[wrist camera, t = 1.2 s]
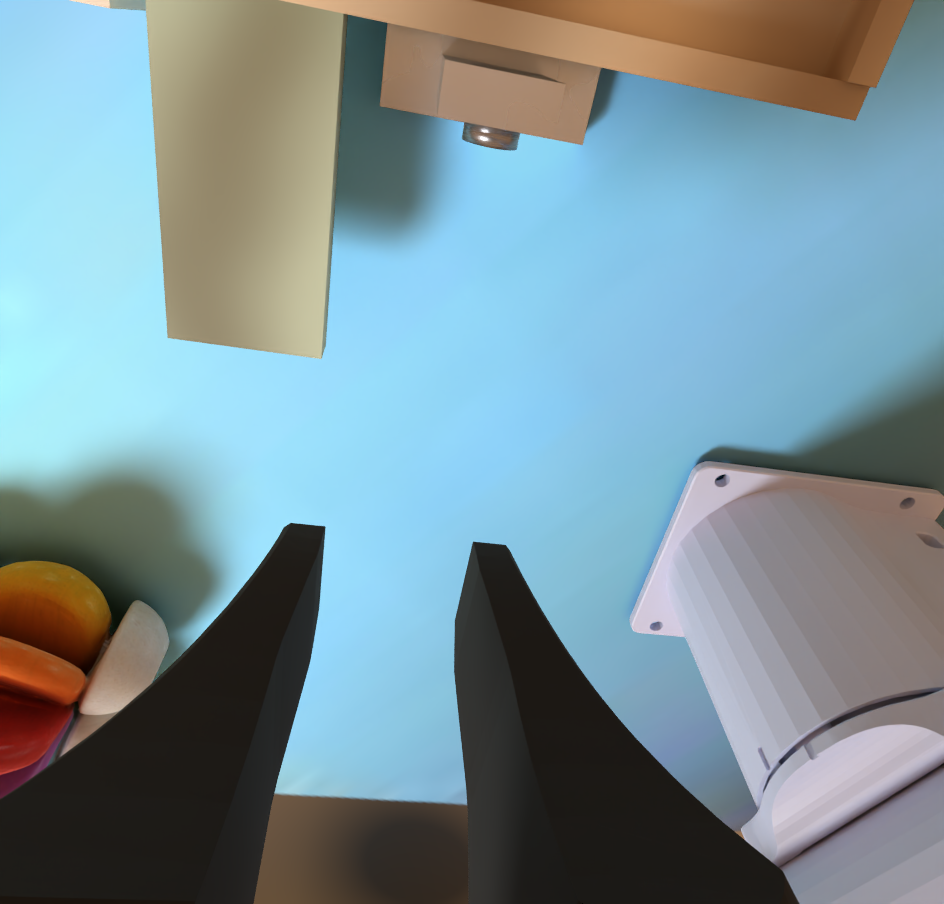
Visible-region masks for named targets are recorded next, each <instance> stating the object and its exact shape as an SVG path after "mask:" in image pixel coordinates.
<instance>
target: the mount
mask: <svg viewBox="0 0 944 904" xmlns="http://www.w3.org/2000/svg"><path fill="white" fill-rule="evenodd" d="M600 70H601V67H597V66H592V65H587V64H582V63H578V62H573V61H568V60H563V59H558V58H554V57H549V56H544V55H539V54H534V53H530V52H525V51H520V50H515V49H511V48H506V47H501V46H496V45H491V44H487V43H482V42H477V41H472V40H467V39H463V38H458V37H453V36H448V35H444V34H439V33H434V32H429V31H424V30H420V29H415V28H410V27H405V26H400V25H396V24H391V23H388V24H387V34H386V45H385V56H384V66H383V77H382V88H381V98H380V106H381V107H387V108H392V109H397V110H402V111H408V112H413V113H418V114H423V115H428V116H434V117H439V118H444V119H449V120H455V121H460V122H464V128H463V135H462V139H463V140H465V141H467V142H470V143H473V144H477V145H480V146H485V147H490V148H495V149H502V150H517V145H518V140H519V135H520V133H523V134H528V135H533V136H538V137H543V138H549V139H554V140H559V141H564V142H570V143H575V144H580V145H582V144H583V140H584V136H585V132H586V128H587V124H588V120H589V116H590V112H591V107H592V103H593V99H594V95H595V91H596V87H597V83H598V79H599V74H600Z"/></svg>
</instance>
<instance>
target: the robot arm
mask: <svg viewBox="0 0 944 904" xmlns="http://www.w3.org/2000/svg"><path fill="white" fill-rule="evenodd" d="M724 474H726V475H725V476H724V478H723V479H721V480H717V481H715V479H716V478H717V477H718V476H720V475H724ZM906 498H907V499H906ZM904 499H906V500H905V501H903V500H904ZM943 508H944V496H943V495H942V494H941V493H940V492H939V491H937V490H934V489H927V488H919V487H911V486H903V485H895V484H887V483H879V482H871V481H863V480H855V479H847V478H840V477H832V476H824V475H816V474H808V473H800V472H792V471H784V470H776V469H768V468H760V467H752V466H744V465H736V464H729V463H721V462H713V461H705V462H702V463H699V464H698V465H696V466H695V467H694V468H693V470H692V471H691V474H690V476H689V478H688V481H687V483H686V485H685V488H684V490H683V493H682V495H681V497H680V500H679V502H678V504H677V507H676V509H675V512H674V514H673V516H672V519H671V521H670V523H669V526H668V528H667V531H666V533H665V535H664V538H663V540H662V542H661V545H660V547H659V550H658V552H657V554H656V557H655V559H654V561H653V564H652V566H651V569H650V571H649V573H648V576H647V578H646V580H645V583H644V585H643V588H642V590H641V592H640V595H639V597H638V599H637V602H636V604H635V607H634V609H633V611H632V614H631V616H630V620H629V621H630V624H631V627H632V629H633V630H634V631H635V632H638V633H646V634H657V635H669V636H680V637H686V640H687V642H688V644H689V647H690V649H691V652H692V654H693V656H694V659H695V661H696V663H697V666H698V668H699V671H700V673H701V675H702V678H703V680H704V682H705V685H706V687H707V690H708V692H709V694H710V697H711V699H712V701H713V704H714V706H715V709H716V711H717V713H718V716H719V718H720V720H721V723H722V725H723V728H724V730H725V732H726V735H727V737H728V739H729V742H730V744H731V747H732V749H733V751H734V754H735V756H736V758H737V761H738V763H739V766H740V768H741V770H742V773H743V775H744V777H745V780H746V782H747V785H748V787H749V789H750V792H751V794H752V796H753V799H754V801H755V804H756V806H757V808H758V812H757V814H756V815H755V816H754V817H753V818H752V819H751V820H750V821H749V822H747V823H746V824H745V825H744V826H743V827H742V828H741V831H742V834H743V836H744V839H745V840H744V839H743V838H742V837H740V836H739V835H738V834H737V833H735V832H734V831H733V830H732V829H730V828H729V827H728V826H727V825H725V824H724V823H723V822H722V821H721V820H720V819H718V818H717V817H716V816H715V815H714V814H713V813H712V812H711V811H710V810H708V809H707V808H706V807H705V806H704V805H703V804H702V803H701V802H700V801H699V800H697V799H696V798H695V797H694V796H693V795H692V794H691V793H690V792H689V791H688V790H686V789H685V788H684V787H683V786H682V785H681V784H680V783H679V782H678V781H677V780H676V779H675V778H674V777H673V776H672V775H671V774H670V773H669V772H668V771H667V770H666V769H665V768H664V767H663V766H662V765H661V764H660V763H659V762H658V761H657V760H656V759H655V758H654V757H653V756H652V755H651V753H650V752H649V751H648V750H647V749H646V748H645V747H644V746H643V745H642V744H641V743H640V742H639V741H638V740H637V739H636V738H635V737H634V736H633V735H632V733H631V732H630V731H629V730H628V729H627V728H626V727H625V725H624V724H623V723H622V722H621V721H620V720H619V719H618V717H617V716H616V715H615V714H614V712H613V711H612V710H611V709H610V708H609V706H608V705H607V704H606V703H605V701H604V700H603V699H602V698H601V696H600V695H599V694H598V693H597V691H596V690H595V689H594V687H593V686H592V685H591V683H590V682H589V681H588V679H587V678H586V677H585V675H584V674H583V672H582V671H581V670H580V668H579V667H578V665H577V664H576V663H575V661H574V660H573V658H572V657H571V655H570V654H569V652H568V651H567V649H566V648H565V646H564V645H563V643H562V642H561V640H560V639H559V637H558V636H557V634H556V632H555V631H554V629H553V628H552V626H551V624H550V623H549V621H548V620H547V618H546V616H545V615H544V613H543V611H542V610H541V608H540V606H539V605H538V603H537V601H536V599H535V598H534V596H533V594H532V592H531V590H530V589H529V587H528V585H527V583H526V581H525V579H524V578H523V576H522V574H521V572H520V570H519V568H518V566H517V564H516V562H515V560H514V558H513V556H512V554H511V552H510V550H509V549H508V548H507V546H506V545H500V544H490V543H480V542H473V544H472V549H471V553H470V557H469V562H468V566H467V570H466V575H465V579H464V584H463V588H462V592H461V597H460V601H459V605H458V610H457V614H456V618H455V649H454V673H455V684H456V694H457V703H458V713H459V723H460V732H461V742H462V751H463V761H464V770H465V780H466V790H467V806H468V848H469V849H468V851H469V853H468V854H469V904H944V529H943V528H942V527H941V526H940V525H939V524H938V523H937V522H936V521H935V520H936V519H937V517H938V516H939V514H940V513H941V511H942V510H943ZM324 538H325V526H315V525H305V524H295V523H290V524H289V525H287V526H285V527H284V528H283V530H282V532H281V534H280V535H279V537H278V539H277V540H276V542H275V544H274V545H273V547H272V548H271V550H270V551H269V553H268V554H267V555H266V557H265V558H264V560H263V561H262V562H261V564H260V565H259V567H258V568H257V569H256V571H255V572H254V573H253V575H252V576H251V577H250V578H249V580H248V581H247V582H246V583H245V585H244V586H243V587H242V588H241V590H240V591H239V592H238V593H237V595H236V596H235V597H234V598H233V600H232V601H231V602H230V603H229V605H228V606H227V607H226V608H225V609H224V610H223V611H222V613H221V614H220V615H219V616H218V617H217V618H216V619H215V620H214V621H213V622H212V624H211V625H210V626H209V627H208V628H207V629H206V630H205V631H204V632H203V633H202V634H201V636H200V637H199V638H198V639H197V640H196V641H195V642H194V643H193V644H192V645H191V646H190V647H189V648H188V649H187V650H186V651H185V652H184V653H183V654H182V655H181V656H180V657H179V658H178V659H177V660H176V661H175V662H174V663H173V664H172V665H171V666H170V667H169V668H168V669H167V670H166V671H165V672H163V673H162V674H161V675H160V676H159V677H158V678H157V679H156V680H155V681H154V682H153V683H152V684H151V685H149V686H148V687H147V688H146V689H145V690H144V691H143V692H141V693H140V694H139V695H138V696H137V697H135V698H134V699H133V700H132V701H131V702H130V703H128V704H127V705H126V706H125V707H124V708H123V709H121V710H120V711H119V712H118V713H117V714H116V715H114V716H113V717H112V718H111V719H109V720H108V721H107V722H106V723H104V724H103V725H102V726H101V727H100V728H98V729H97V730H96V731H94V732H93V733H92V734H91V735H89V736H88V737H87V738H85V739H84V740H82V741H81V742H80V743H78V744H77V745H76V746H74V747H73V748H72V749H70V750H69V751H68V752H66V753H65V754H63V755H62V756H61V757H59V758H58V759H57V760H55V761H54V762H53V763H51V764H50V765H48V766H47V767H46V768H44V769H43V770H42V771H40V772H39V773H38V774H36V775H35V776H33V777H32V778H31V779H29V780H28V781H26V782H25V783H23V784H22V785H20V786H19V787H17V788H16V789H14V790H13V791H11V792H10V793H8V794H7V795H5V796H4V797H2V798H0V904H253V903H254V897H255V892H256V886H257V881H258V875H259V869H260V864H261V859H262V853H263V848H264V842H265V837H266V832H267V826H268V821H269V815H270V810H271V804H272V800H273V796H274V792H275V788H276V784H277V779H278V776H279V772H280V768H281V765H282V761H283V758H284V754H285V750H286V747H287V743H288V740H289V736H290V732H291V729H292V725H293V722H294V718H295V714H296V711H297V707H298V704H299V700H300V696H301V693H302V689H303V686H304V682H305V678H306V675H307V671H308V667H309V664H310V659H311V654H312V648H313V642H314V636H315V630H316V624H317V618H318V611H319V601H320V589H321V576H322V563H323V551H324ZM657 621H658V622H657ZM653 622H656V623H653Z"/></svg>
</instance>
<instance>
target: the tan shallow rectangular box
mask: <svg viewBox="0 0 944 904" xmlns="http://www.w3.org/2000/svg"><path fill="white" fill-rule="evenodd" d="M71 1H76V2H81V3H86V4H91V5H96V6H101V7H106V8H113V9H129V10H145V11H146V0H71Z"/></svg>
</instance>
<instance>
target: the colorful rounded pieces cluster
mask: <svg viewBox="0 0 944 904" xmlns="http://www.w3.org/2000/svg"><path fill="white" fill-rule="evenodd" d="M111 622H112V618H111V612H110V611H109V606H108V604H107V601H106V599H105V597H104V595H103V593H102V592H101V590H100V589H99V588H98V587H97V586H96V585H95V584H94V583H93V582H92V581H91V580H90V579H89V578H88V577H87V576H85V575H84V574H82V573H81V572H80V571H78V570H76V569H74V568H72V567H70V566H67V565H63V564H59V563H54V562H47V561H25V562H16V563H12V564H9V565H6V566H4V567H1V568H0V798H2V797H4V796H5V795H7V794H8V793H10V792H11V791H13V790H14V789H16V788H17V787H19V786H20V785H22V784H23V783H25V782H26V781H28V780H29V779H31V778H32V777H33V776H35V775H36V774H38V773H39V772H40V771H42V770H43V769H44V768H46V767H47V766H48V765H50V764H51V763H53V762H54V761H55V760H57V759H58V758H59V757H61V756H62V755H63V754H65V753H66V752H68V751H69V750H70V749H72V748H73V747H74V746H76V745H77V744H78V743H80V742H81V741H82V740H84V739H85V738H87V737H88V736H89V735H91V734H92V733H93V732H94V731H96V730H97V729H98V728H100V727H101V726H102V725H103V724H104V723H106V722H107V721H108V720H109V719H111V718H112V717H113V716H114V715H116V714H117V713H118V712H119V711H120V710H121V709H123V708H124V707H125V706H126V705H127V704H128V703H130V702H131V701H132V700H133V699H134V698H135V697H137V696H138V695H139V694H140V693H141V692H143V691H144V690H145V689H146V688H147V687H148V686H149V685H151V684H152V682H153V680H154V678H155V676H156V673H157V671H158V669H159V667H160V665H161V663H162V661H163V658H164V656H165V654H166V652H167V649H168V646H169V636H168V632H167V629H166V626H165V624H164V622H163V620H162V619H161V617H160V616H159V615H158V614H157V613H156V611H155V610H153V609H152V608H151V607H150V606H149V605H147V604H145V603H144V602H142V601H140V600H135V601H134V602H133V603H132V604H131V606H130V607H129V609H128V610H127V612H126V614H125V616H124V617H123V619H122V621H121V623H120V625H119V626H118V628H117V630H116V631H115V632H114V634H113V635H111V634H110V630H109V628H110V626H111Z"/></svg>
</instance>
